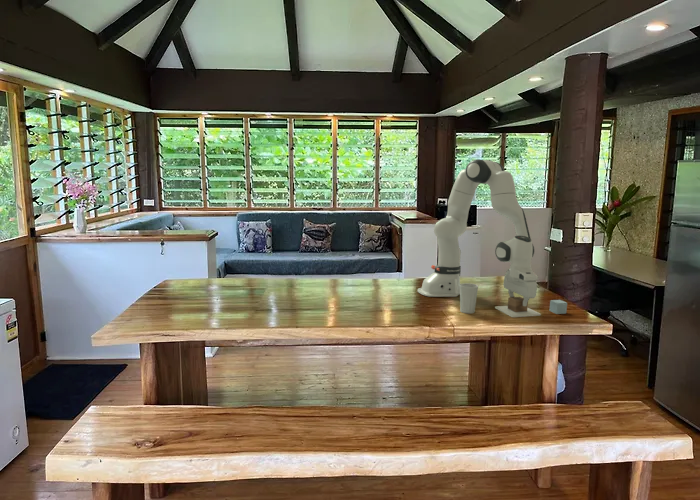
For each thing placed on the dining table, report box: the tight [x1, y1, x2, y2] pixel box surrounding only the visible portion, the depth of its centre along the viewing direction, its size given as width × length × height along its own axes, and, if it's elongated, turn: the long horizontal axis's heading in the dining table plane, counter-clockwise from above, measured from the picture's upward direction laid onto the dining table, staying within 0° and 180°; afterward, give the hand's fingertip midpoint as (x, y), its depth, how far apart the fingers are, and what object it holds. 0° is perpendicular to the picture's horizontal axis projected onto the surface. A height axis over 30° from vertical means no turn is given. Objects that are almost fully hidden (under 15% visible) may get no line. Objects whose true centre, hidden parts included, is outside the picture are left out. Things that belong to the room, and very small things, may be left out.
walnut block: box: [507, 296, 529, 312], centre depth 214 cm, size 6×6×5 cm
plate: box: [494, 305, 542, 318], centre depth 215 cm, size 14×14×1 cm
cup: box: [459, 282, 479, 314], centre depth 213 cm, size 8×8×12 cm
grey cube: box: [548, 299, 568, 315], centre depth 215 cm, size 5×5×5 cm
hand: (517, 302), depth 214 cm, fingers open, 8 cm apart
